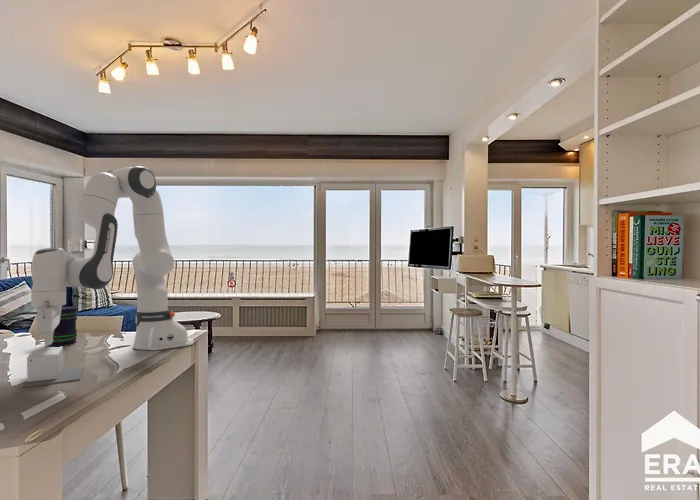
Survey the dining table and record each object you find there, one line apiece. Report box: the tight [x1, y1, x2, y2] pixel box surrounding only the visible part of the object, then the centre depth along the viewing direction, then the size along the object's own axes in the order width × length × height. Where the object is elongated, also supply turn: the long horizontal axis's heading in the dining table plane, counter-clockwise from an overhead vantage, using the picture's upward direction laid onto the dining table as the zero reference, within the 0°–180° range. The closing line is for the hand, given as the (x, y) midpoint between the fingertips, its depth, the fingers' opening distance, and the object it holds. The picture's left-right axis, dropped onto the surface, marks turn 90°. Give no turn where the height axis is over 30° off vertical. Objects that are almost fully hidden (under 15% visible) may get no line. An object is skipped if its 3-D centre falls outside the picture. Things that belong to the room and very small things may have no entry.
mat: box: [23, 367, 84, 388], centre depth 124 cm, size 13×14×1 cm
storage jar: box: [47, 305, 78, 347], centre depth 169 cm, size 10×10×15 cm
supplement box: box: [26, 346, 64, 383], centre depth 125 cm, size 7×7×13 cm
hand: (48, 344), depth 128 cm, fingers closed
